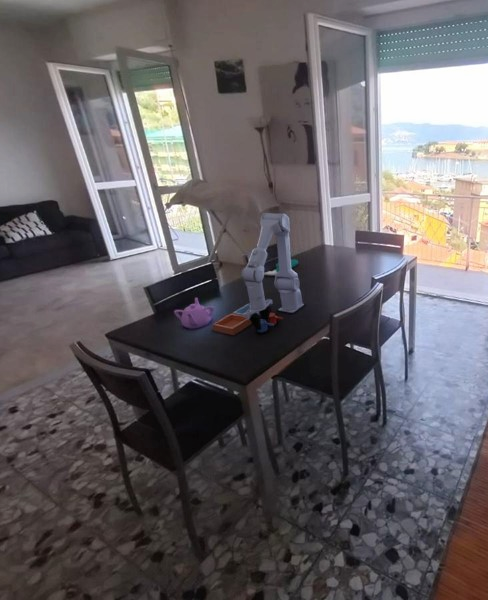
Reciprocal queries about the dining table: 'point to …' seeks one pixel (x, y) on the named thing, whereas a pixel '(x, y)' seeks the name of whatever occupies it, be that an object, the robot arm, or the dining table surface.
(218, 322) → the orange tray
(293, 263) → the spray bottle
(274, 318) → the red scoop
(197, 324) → the teapot
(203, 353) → the dining table surface
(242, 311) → the blue bin
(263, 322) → the blue measuring cup
